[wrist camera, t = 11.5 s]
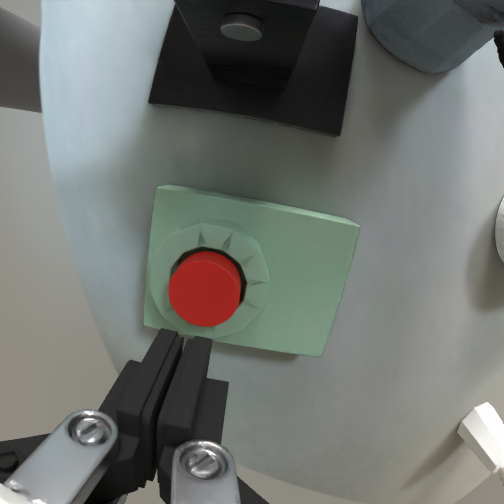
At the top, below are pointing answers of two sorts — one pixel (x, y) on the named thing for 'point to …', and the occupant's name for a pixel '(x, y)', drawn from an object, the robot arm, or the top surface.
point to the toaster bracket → (258, 61)
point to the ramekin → (500, 231)
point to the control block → (252, 266)
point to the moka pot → (435, 30)
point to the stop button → (205, 289)
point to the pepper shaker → (485, 437)
